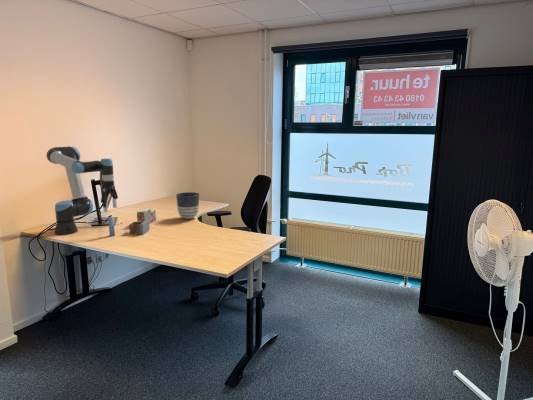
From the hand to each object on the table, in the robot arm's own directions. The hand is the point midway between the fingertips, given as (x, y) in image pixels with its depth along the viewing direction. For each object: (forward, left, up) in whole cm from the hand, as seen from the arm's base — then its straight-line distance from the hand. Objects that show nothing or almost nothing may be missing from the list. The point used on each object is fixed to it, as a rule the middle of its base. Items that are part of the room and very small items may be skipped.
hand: (110, 209), depth 269 cm
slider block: (+15, +11, -20) cm, 27 cm away
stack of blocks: (+11, +37, -20) cm, 44 cm away
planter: (+40, +58, -20) cm, 73 cm away
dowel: (0, 0, -20) cm, 20 cm away
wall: (+20, +11, -20) cm, 30 cm away
